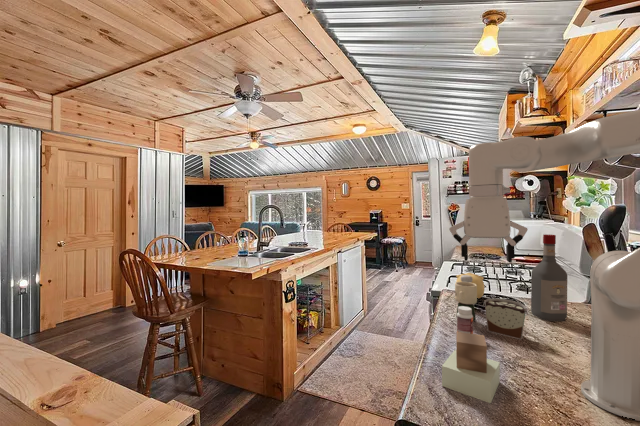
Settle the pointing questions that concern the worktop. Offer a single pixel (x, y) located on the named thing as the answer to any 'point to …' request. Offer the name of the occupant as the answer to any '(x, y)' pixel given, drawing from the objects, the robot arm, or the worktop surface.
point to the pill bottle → (465, 320)
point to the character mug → (466, 295)
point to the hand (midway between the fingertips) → (487, 260)
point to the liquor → (549, 285)
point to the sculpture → (475, 282)
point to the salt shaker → (466, 279)
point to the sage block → (471, 379)
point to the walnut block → (471, 352)
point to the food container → (505, 317)
